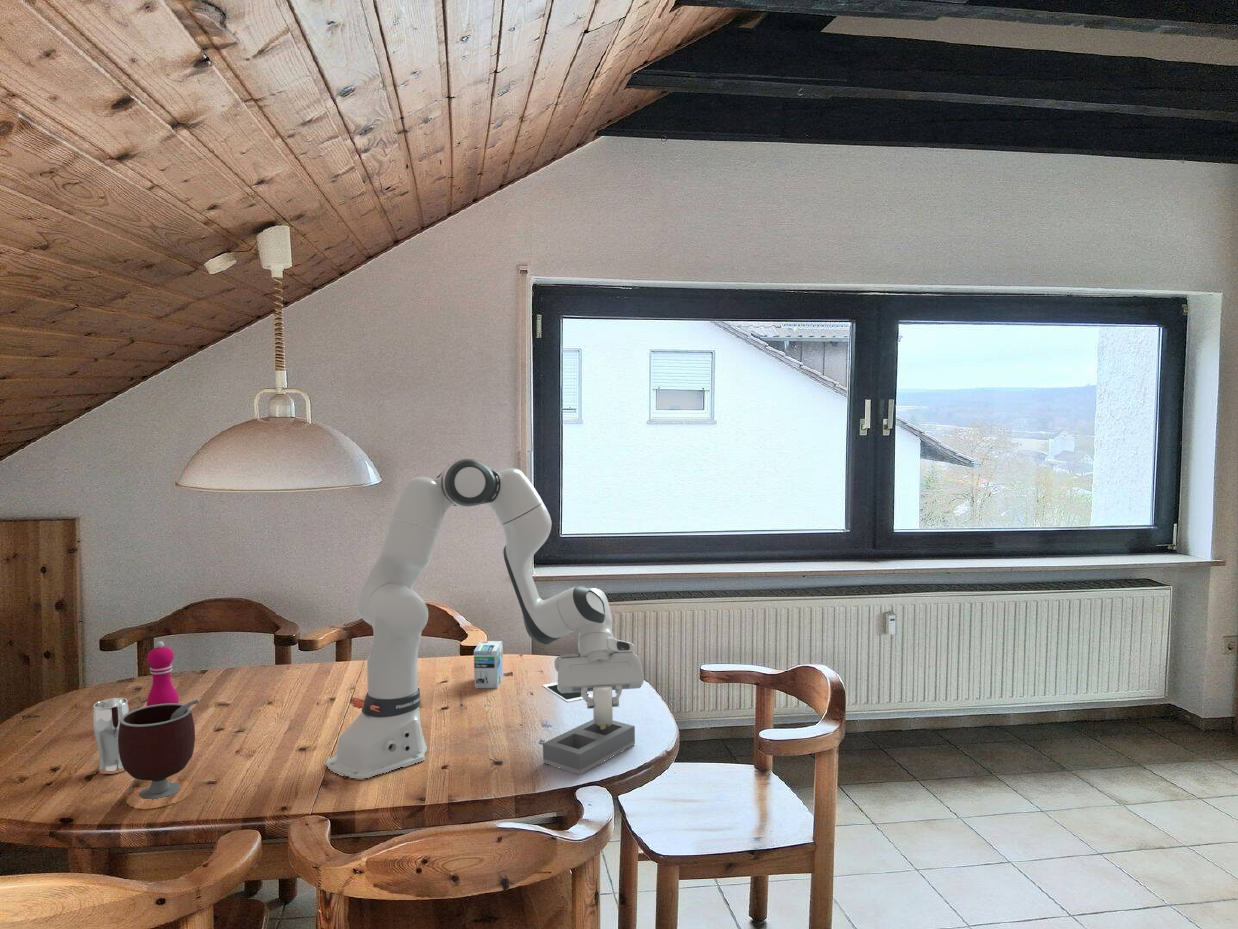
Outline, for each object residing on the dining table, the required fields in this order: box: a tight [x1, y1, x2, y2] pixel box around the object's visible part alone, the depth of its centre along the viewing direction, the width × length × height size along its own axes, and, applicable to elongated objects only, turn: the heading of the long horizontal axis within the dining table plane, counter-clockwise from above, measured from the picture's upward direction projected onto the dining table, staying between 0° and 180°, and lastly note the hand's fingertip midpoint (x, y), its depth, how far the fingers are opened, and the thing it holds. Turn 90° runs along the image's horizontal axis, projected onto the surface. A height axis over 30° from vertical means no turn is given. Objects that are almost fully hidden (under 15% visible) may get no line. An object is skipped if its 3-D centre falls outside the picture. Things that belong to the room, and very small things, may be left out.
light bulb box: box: [473, 640, 504, 689], centre depth 251 cm, size 11×7×11 cm, turn 179°
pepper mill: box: [146, 640, 180, 706], centre depth 226 cm, size 7×7×20 cm
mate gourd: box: [118, 699, 199, 800], centre depth 181 cm, size 16×14×20 cm
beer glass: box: [92, 697, 130, 772], centre depth 194 cm, size 7×7×15 cm
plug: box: [592, 685, 614, 730], centre depth 204 cm, size 4×4×9 cm
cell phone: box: [542, 681, 593, 703], centre depth 244 cm, size 8×16×1 cm, turn 30°
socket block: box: [542, 718, 636, 775], centre depth 200 cm, size 20×10×4 cm, turn 143°
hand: (603, 706), depth 203 cm, fingers closed on plug, 4 cm apart
